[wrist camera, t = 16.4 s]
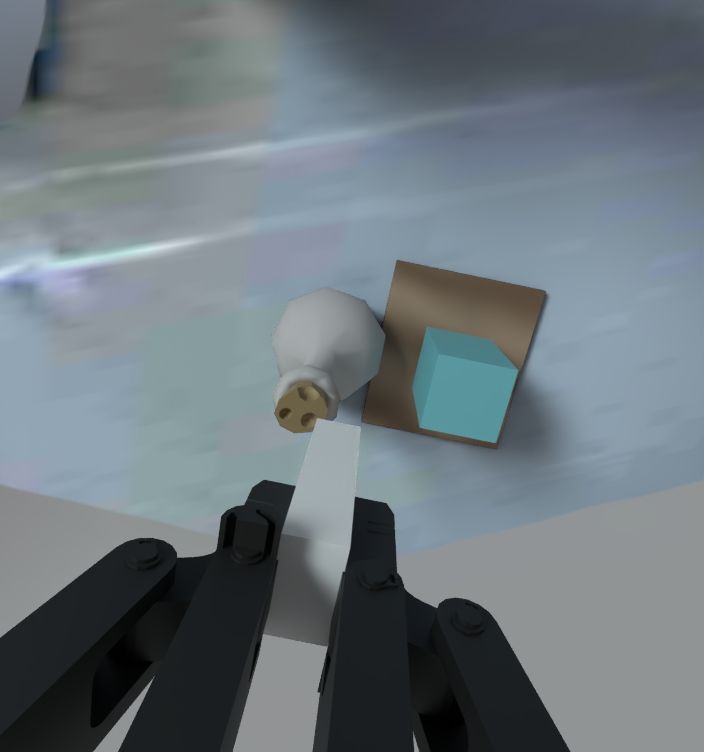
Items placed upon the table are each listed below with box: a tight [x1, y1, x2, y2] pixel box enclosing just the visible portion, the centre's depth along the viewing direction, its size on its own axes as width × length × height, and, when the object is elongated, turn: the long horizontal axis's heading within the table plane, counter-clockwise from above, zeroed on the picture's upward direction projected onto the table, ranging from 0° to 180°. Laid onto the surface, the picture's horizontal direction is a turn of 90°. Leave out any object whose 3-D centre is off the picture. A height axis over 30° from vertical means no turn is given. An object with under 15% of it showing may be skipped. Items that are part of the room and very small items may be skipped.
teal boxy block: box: [412, 326, 519, 443], centre depth 38 cm, size 5×5×9 cm
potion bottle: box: [271, 287, 386, 433], centre depth 35 cm, size 9×9×18 cm
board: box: [362, 260, 546, 449], centre depth 43 cm, size 14×12×1 cm
